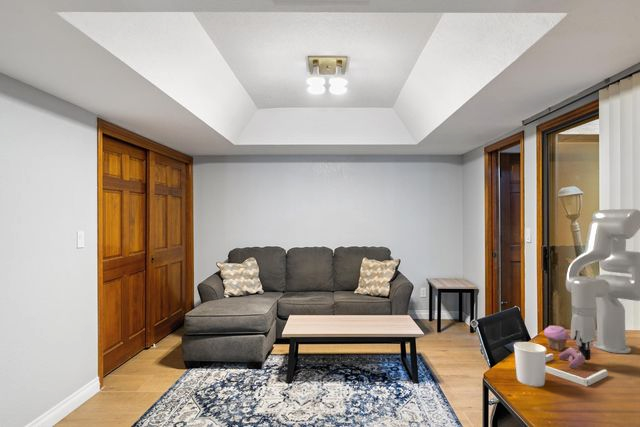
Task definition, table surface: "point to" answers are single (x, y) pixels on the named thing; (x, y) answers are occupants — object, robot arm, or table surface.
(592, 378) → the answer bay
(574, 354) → the video game controller
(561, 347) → the cupcake
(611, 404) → the table surface
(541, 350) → the candle holder
